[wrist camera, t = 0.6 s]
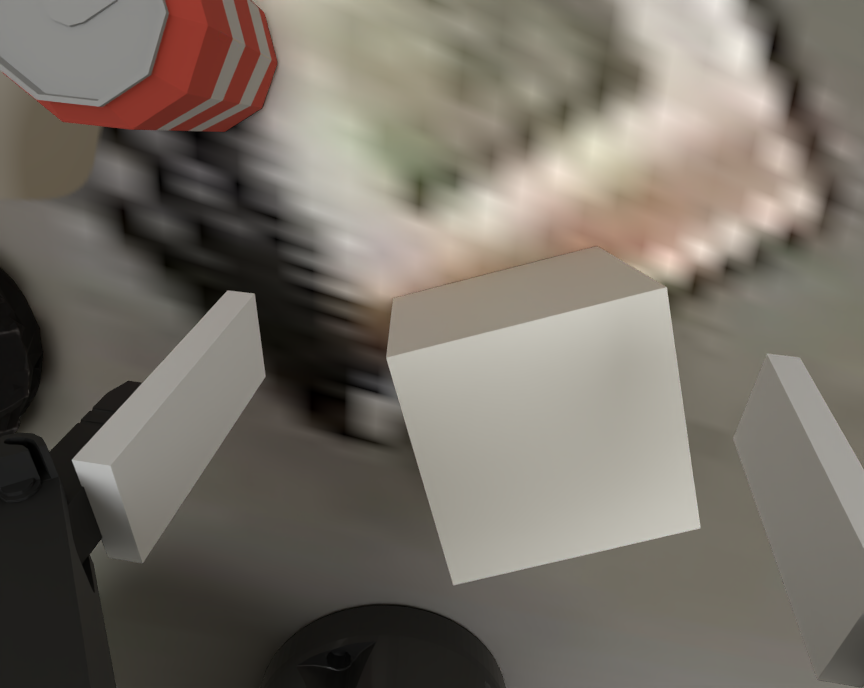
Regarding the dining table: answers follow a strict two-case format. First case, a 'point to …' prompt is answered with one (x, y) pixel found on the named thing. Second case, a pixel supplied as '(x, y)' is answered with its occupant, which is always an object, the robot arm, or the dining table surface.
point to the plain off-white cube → (544, 412)
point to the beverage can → (140, 60)
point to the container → (17, 355)
